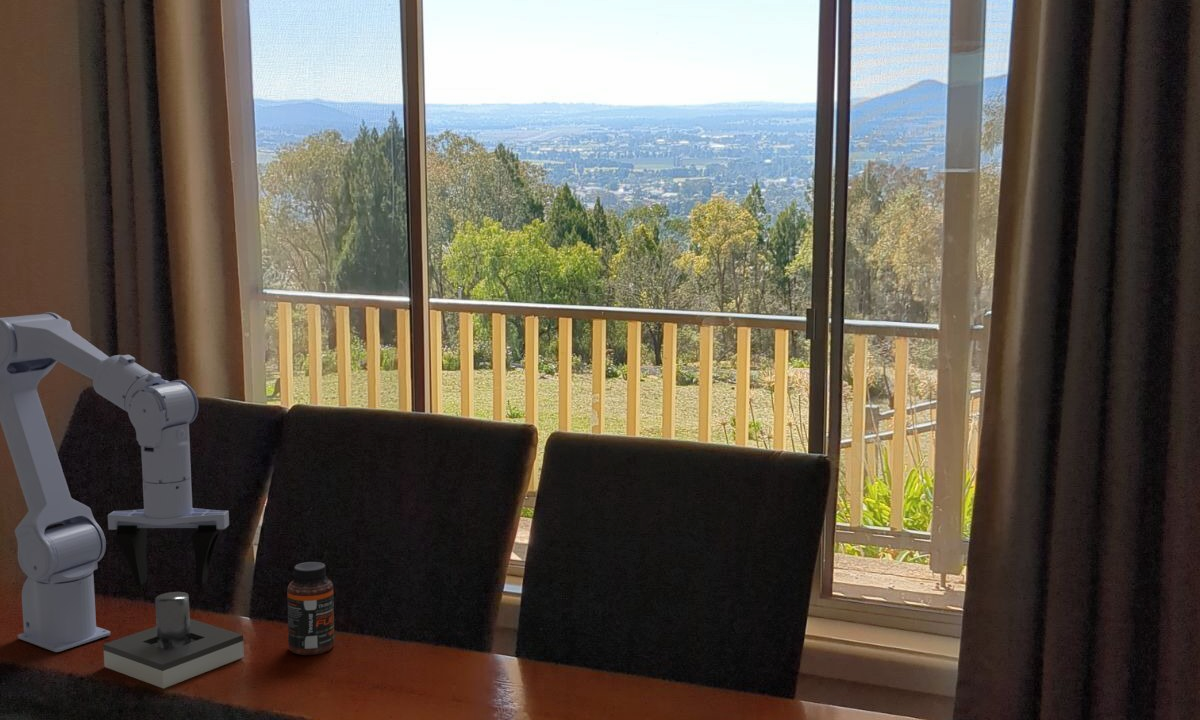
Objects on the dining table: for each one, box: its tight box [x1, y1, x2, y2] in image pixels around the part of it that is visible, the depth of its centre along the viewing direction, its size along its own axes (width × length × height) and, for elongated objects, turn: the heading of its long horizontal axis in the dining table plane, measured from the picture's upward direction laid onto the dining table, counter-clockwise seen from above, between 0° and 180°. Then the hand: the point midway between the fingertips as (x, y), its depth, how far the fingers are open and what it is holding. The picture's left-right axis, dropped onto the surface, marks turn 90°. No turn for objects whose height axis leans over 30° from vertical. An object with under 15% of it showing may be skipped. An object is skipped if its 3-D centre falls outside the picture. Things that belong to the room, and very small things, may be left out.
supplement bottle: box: [286, 561, 335, 656], centre depth 151 cm, size 6×6×11 cm
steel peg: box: [154, 591, 191, 650], centre depth 146 cm, size 4×4×8 cm
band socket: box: [102, 618, 245, 689], centre depth 147 cm, size 12×12×3 cm
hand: (171, 583), depth 146 cm, fingers open, 7 cm apart
